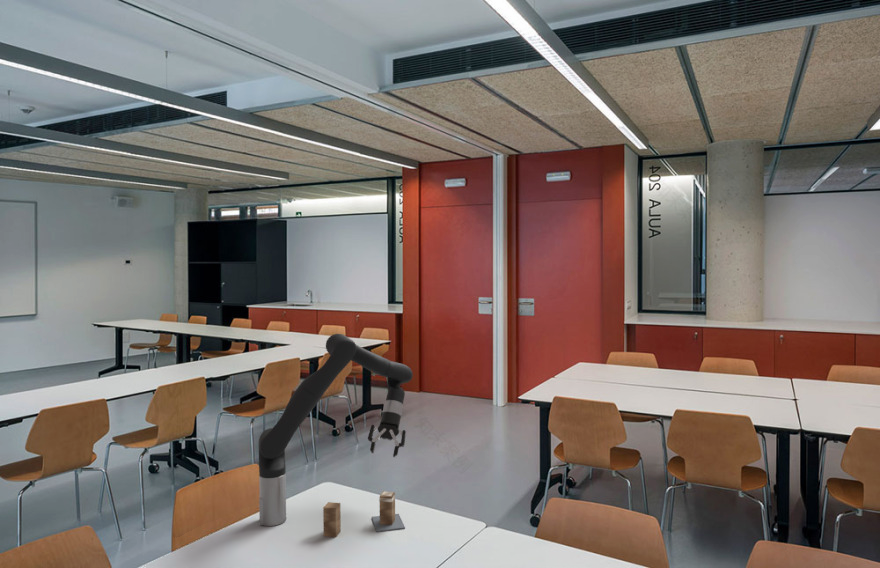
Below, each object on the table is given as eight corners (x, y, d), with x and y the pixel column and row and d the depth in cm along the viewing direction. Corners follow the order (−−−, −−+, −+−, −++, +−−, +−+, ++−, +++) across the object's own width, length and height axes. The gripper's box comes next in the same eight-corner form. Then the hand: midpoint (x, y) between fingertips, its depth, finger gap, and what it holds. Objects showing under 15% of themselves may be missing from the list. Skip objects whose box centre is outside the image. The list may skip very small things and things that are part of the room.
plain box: (323, 536, 198) (323, 507, 198) (328, 530, 202) (328, 502, 202) (336, 537, 197) (335, 508, 197) (340, 531, 201) (340, 503, 201)
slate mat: (376, 532, 201) (376, 530, 200) (371, 518, 212) (371, 516, 212) (405, 528, 203) (405, 527, 203) (398, 515, 215) (398, 513, 215)
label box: (379, 524, 206) (379, 495, 206) (383, 518, 210) (382, 490, 210) (392, 525, 205) (391, 496, 205) (395, 519, 209) (395, 491, 209)
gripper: (373, 408, 226) (364, 449, 219) (409, 414, 225) (400, 455, 217) (375, 413, 233) (366, 454, 225) (409, 419, 232) (402, 460, 224)
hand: (383, 454), depth 221 cm, fingers open, 8 cm apart
